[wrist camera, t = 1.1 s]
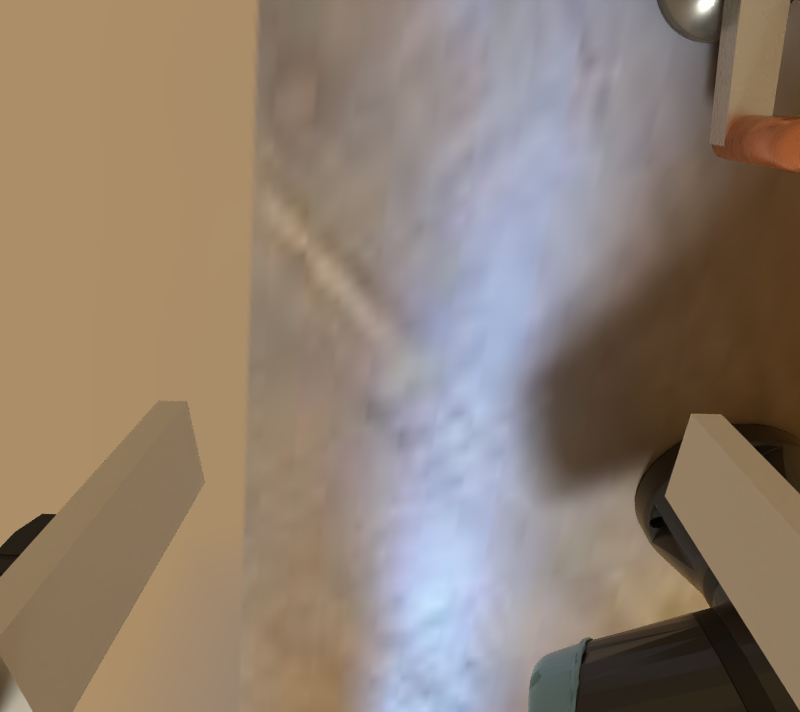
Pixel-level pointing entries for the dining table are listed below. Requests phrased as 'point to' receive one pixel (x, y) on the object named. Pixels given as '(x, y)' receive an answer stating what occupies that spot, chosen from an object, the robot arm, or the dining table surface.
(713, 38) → the crank base
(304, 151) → the dining table surface
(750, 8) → the crank
